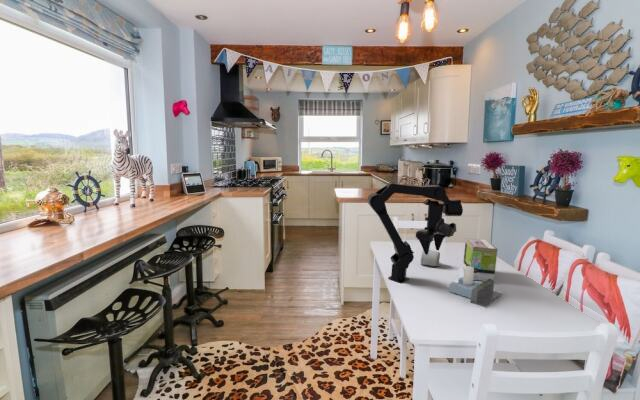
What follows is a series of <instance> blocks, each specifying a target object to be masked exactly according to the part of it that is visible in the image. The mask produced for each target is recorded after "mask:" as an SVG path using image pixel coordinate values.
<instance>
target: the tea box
mask: <svg viewBox="0 0 640 400" xmlns="http://www.w3.org/2000/svg"><path fill="white" fill-rule="evenodd" d="M497 256H498V248H497V246H496V245H494V244H493V243H492V242H491V241H489V239H479V238H478V239H477V238H465V244H464V254H463V264H462V269H463V270H464V267H465V266H470V267H473V268H474V274H473V281H480V282H481V281H482V282H485V281H486V280H488V279H492V280H494V281H495V274H496V266H497V265H496V264H497Z"/></svg>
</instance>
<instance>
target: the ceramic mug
mask: <svg viewBox="0 0 640 400" xmlns="http://www.w3.org/2000/svg"><path fill="white" fill-rule="evenodd" d="M440 256H441V253H440V252H439V251H438V250H431V249H429V252H428V255H426V254H425V252H424V250H423V249H422V250H421V256H420V265H421V266H422V265H423V266H430V267H438V266H439V265H440V258H441V257H440Z"/></svg>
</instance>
